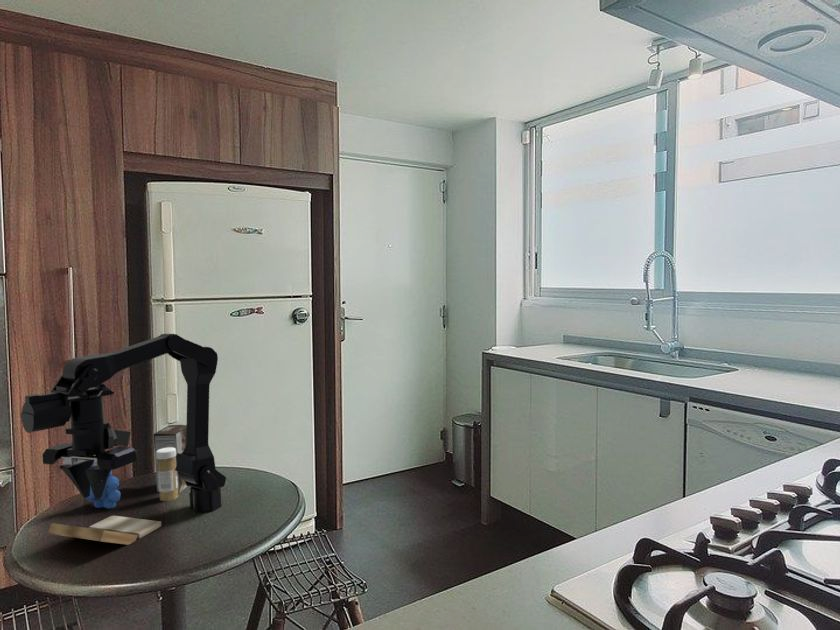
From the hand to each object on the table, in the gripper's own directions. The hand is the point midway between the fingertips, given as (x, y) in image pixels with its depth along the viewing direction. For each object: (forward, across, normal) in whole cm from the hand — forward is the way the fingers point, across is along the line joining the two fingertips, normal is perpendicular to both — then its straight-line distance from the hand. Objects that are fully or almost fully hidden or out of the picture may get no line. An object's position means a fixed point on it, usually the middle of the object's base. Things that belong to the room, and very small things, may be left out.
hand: (92, 497), depth 109 cm
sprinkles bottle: (+12, +7, -27) cm, 30 cm away
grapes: (+12, +20, -18) cm, 30 cm away
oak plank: (+10, +3, -2) cm, 10 cm away
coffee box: (+12, +13, -36) cm, 40 cm away
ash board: (+12, +3, -10) cm, 16 cm away
